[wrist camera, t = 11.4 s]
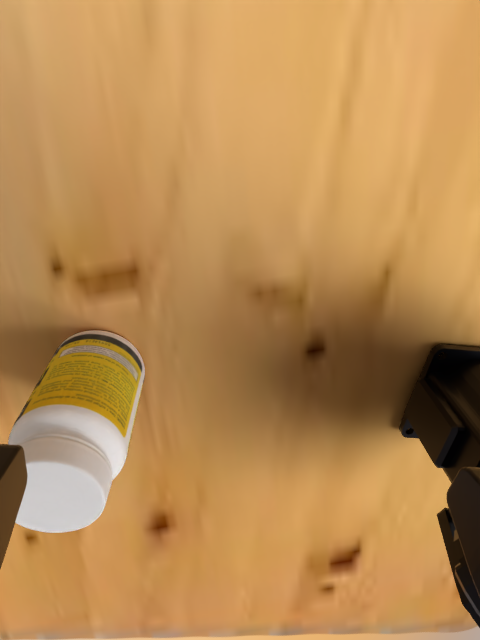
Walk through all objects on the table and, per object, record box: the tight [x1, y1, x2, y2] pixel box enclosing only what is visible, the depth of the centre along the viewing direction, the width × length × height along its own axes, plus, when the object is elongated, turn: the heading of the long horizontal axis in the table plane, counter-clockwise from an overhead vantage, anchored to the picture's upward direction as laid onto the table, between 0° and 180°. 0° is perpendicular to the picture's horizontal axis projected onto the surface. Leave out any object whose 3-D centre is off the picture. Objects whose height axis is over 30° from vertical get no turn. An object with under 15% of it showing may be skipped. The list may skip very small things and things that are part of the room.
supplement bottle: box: [8, 330, 145, 533], centre depth 19 cm, size 5×5×8 cm
